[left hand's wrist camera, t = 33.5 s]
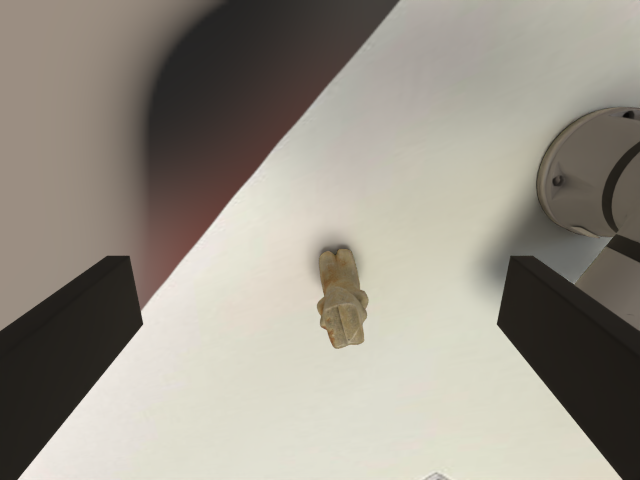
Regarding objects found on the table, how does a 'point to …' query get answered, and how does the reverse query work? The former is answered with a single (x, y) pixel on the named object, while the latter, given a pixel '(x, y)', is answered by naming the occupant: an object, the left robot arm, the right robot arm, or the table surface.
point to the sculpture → (341, 299)
